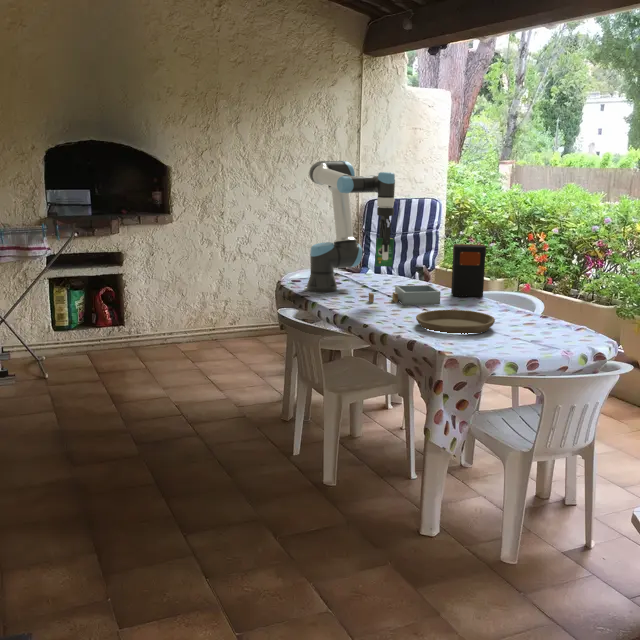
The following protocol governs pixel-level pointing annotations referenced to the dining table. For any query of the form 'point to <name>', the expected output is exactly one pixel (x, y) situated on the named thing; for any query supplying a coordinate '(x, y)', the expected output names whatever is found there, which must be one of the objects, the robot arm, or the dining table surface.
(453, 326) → the plant saucer
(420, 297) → the slate bin
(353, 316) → the dining table surface
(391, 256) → the coffee box
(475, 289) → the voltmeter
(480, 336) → the dining table surface
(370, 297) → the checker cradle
